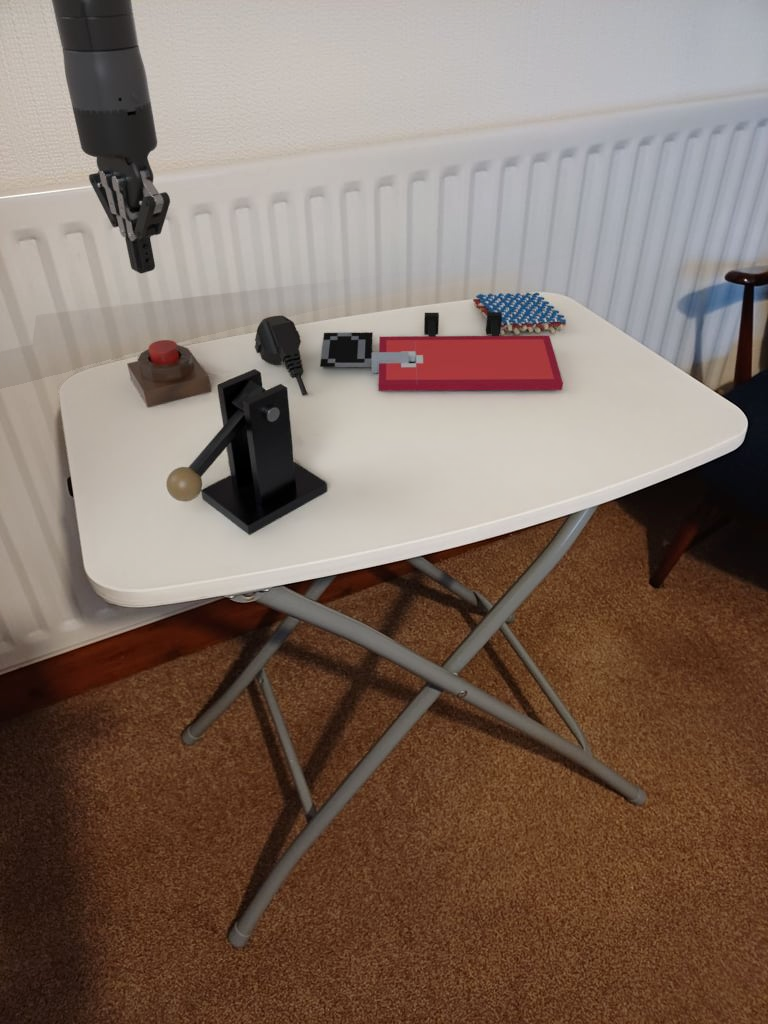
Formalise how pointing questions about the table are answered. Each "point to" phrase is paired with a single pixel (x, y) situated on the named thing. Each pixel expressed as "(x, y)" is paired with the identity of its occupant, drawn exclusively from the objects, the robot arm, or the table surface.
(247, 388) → the switch lever
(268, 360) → the power plug
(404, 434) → the table surface
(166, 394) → the button block
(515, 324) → the woven mat
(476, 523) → the table surface
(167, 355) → the button
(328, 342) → the red board with handle
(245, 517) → the switch bracket
